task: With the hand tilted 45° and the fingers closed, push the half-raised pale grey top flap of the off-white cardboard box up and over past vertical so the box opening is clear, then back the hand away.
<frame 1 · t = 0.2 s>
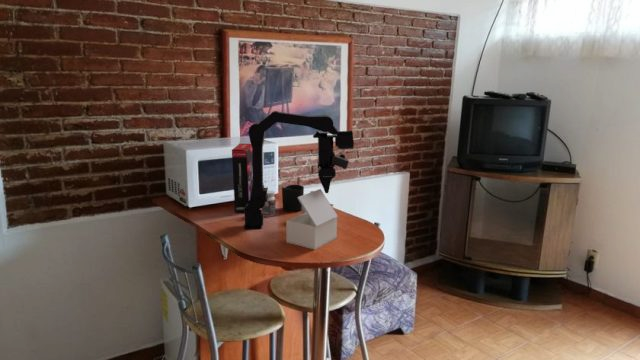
hand: (326, 190, 182), 15 cm above the breakfast bar, tool pointing down, fingers open, 9 cm apart
pen holder: (292, 210, 208), on the breakfast bar
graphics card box: (244, 208, 210), on the breakfast bar
pill bottle: (268, 215, 199), on the breakfast bar
teacup with lid: (314, 218, 196), on the breakfast bar
carton flap: (318, 207, 166), point 13 cm above the breakfast bar, hinge at 50.0°, touching carton
carton: (311, 240, 170), on the breakfast bar
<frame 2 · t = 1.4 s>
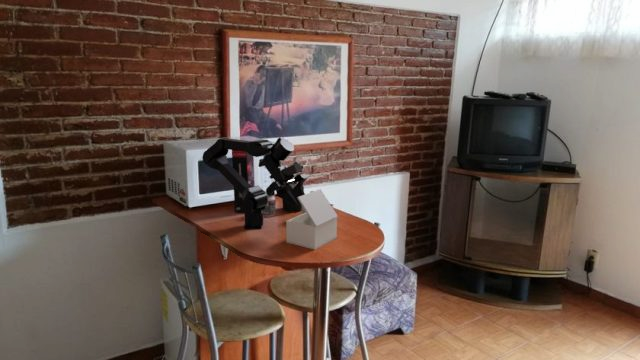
hand: (301, 202, 170), 13 cm above the breakfast bar, tool tilted 45°, fingers open, 5 cm apart
nothing on the breakfast bar moved.
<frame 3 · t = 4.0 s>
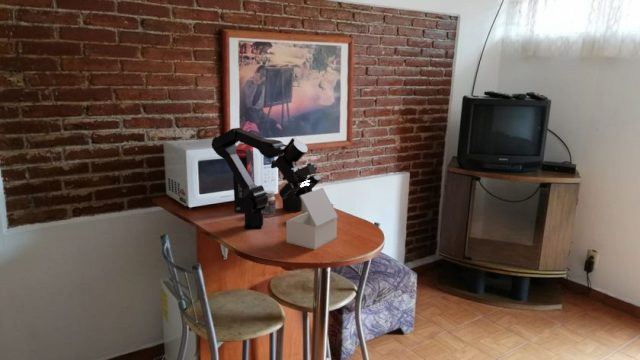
hand: (314, 205, 167), 13 cm above the breakfast bar, tool tilted 45°, fingers closed, pressing on carton flap
carton flap: (319, 206, 166), point 13 cm above the breakfast bar, hinge at 55.8°, touching carton, gripper
everything else where it was.
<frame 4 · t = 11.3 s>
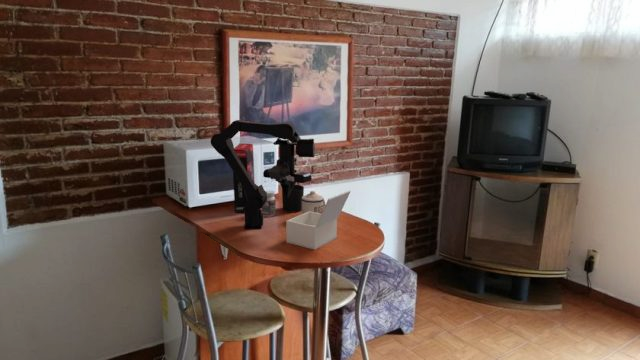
hand: (287, 197, 181), 12 cm above the breakfast bar, tool pointing down, fingers closed
carton flap: (333, 208, 163), point 13 cm above the breakfast bar, hinge at 115.0°, touching carton
everything else where it was.
at the end: carton flap at +115° (first picture: +50°) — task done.
